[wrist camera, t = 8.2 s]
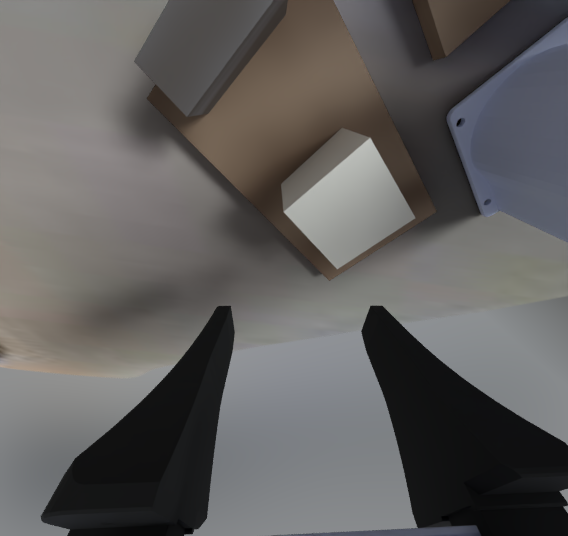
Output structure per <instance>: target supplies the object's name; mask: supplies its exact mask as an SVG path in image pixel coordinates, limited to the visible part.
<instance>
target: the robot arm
mask: <svg viewBox="0 0 568 536" xmlns="http://www.w3.org/2000/svg"><path fill="white" fill-rule="evenodd" d="M460 118H461V122H460V124H459V125H458V126H456V123H457V121H458V120H459V119H460ZM447 123H448V126H449V128H450V131H451V134H452V137H453V139H454V142H455V145H456V147H457V150H458V153H459V156H460V158H461V161H462V164H463V166H464V169H465V172H466V175H467V177H468V180H469V183H470V185H471V188H472V191H473V194H474V196H475V199H476V202H477V205H478V207H479V210H480V213H481V214H482V215H483V216H486V217H488V216H491V215H493V214H495V213H496V212H498V211H502V212H504V213H506V214H508V215H511V216H513V217H515V218H517V219H519V220H521V221H523V222H525V223H527V224H530V225H532V226H534V227H536V228H538V229H540V230H542V231H544V232H547V233H549V234H551V235H553V236H555V237H557V238H559V239H561V240H563V241H566V242H568V17H567V18H566V19H564V20H563V21H562V22H561V23H559V24H558V25H557V26H556V27H554V28H553V29H552V30H551V31H549V32H548V33H547V34H545V35H544V36H543V37H542V38H540V39H539V40H538V41H537V42H535V43H534V44H533V45H532V46H530V47H529V48H528V49H527V50H525V51H524V52H523V53H521V54H520V55H519V56H518V57H516V58H515V59H514V60H513V61H511V62H510V63H509V64H508V65H506V66H505V67H504V68H503V69H501V70H500V71H499V72H497V73H496V74H495V75H494V76H492V77H491V78H490V79H489V80H487V81H486V82H485V83H484V84H482V85H481V86H480V87H479V88H477V89H476V90H475V91H473V92H472V93H471V94H470V95H468V96H467V97H466V98H465V99H463V100H462V101H461V102H460V103H458V104H457V105H456V106H454V107H453V108H452V109H451V110H450V111H449V113H448V115H447ZM486 200H487V201H486ZM485 201H486V202H485ZM484 202H485V203H484ZM361 332H362V336H363V340H364V344H365V348H366V351H367V354H368V356H369V359H370V362H371V364H372V367H373V369H374V372H375V374H376V377H377V379H378V382H379V385H380V387H381V390H382V392H383V395H384V398H385V401H386V404H387V407H388V411H389V414H390V418H391V421H392V424H393V428H394V432H395V436H396V440H397V444H398V447H399V451H400V456H401V460H402V464H403V468H404V473H405V478H406V482H407V487H408V492H409V497H410V501H411V507H412V512H413V515H414V518H415V521H416V524H417V527H418V528H411V529H392V530H372V531H352V532H332V533H312V534H294V535H293V534H292V535H273V536H568V513H567V512H566V510H565V509H564V507H563V506H567V505H568V503H567V501H566V500H565V499H564V497H563V496H562V494H561V493H560V492H559V491H561V490H564V489H568V445H567V444H566V443H565V442H563V441H561V440H560V439H558V438H556V437H554V436H553V435H551V434H549V433H547V432H546V431H544V430H542V429H540V428H539V427H537V426H535V425H534V424H532V423H530V422H528V421H526V420H525V419H523V418H522V417H520V416H518V415H516V414H515V413H514V412H512V411H510V410H509V409H507V408H505V407H504V406H502V405H501V404H499V403H498V402H496V401H495V400H493V399H492V398H490V397H489V396H487V395H486V394H484V393H483V392H481V391H480V390H479V389H477V388H476V387H474V386H473V385H471V384H470V383H469V382H467V381H466V380H464V379H463V378H462V377H460V376H459V375H458V374H457V373H455V372H454V371H453V370H452V369H450V368H449V367H448V366H447V365H445V364H444V363H443V362H442V361H440V360H439V359H438V358H437V357H436V356H435V355H433V354H432V353H431V352H430V351H429V350H428V349H426V348H425V347H424V346H423V345H422V344H421V343H420V342H419V341H417V339H416V338H414V337H413V336H412V335H411V334H410V333H409V332H408V331H407V330H406V329H405V328H404V327H403V326H402V325H401V324H400V323H399V322H398V321H397V320H396V319H395V318H394V317H393V316H392V315H391V314H390V313H389V312H388V311H387V310H386V309H385V308H384V307H383V306H370V309H369V312H368V314H367V317H366V320H365V323H364V325H363V328H362V331H361ZM234 333H235V331H234V325H233V318H232V311H231V306H218V307H217V308H216V310H215V311H214V313H213V315H212V316H211V318H210V320H209V321H208V323H207V324H206V326H205V327H204V329H203V330H202V332H201V333H200V334H199V336H198V337H197V339H196V340H195V341H194V343H193V344H192V345H191V347H190V348H189V349H188V351H187V352H186V353H185V354H184V356H183V357H182V358H181V359H180V361H179V362H178V363H177V364H176V365H175V367H174V368H173V369H172V370H171V371H170V372H169V373H168V375H167V376H166V377H165V378H164V379H163V380H162V381H161V382H160V383H159V384H158V385H157V386H156V387H155V388H154V389H153V390H152V391H151V392H150V393H149V394H148V395H147V396H146V397H145V398H144V399H143V400H142V401H141V402H140V403H139V404H138V405H137V406H136V407H135V408H134V409H133V410H131V411H130V412H129V413H128V414H127V415H126V416H125V417H124V418H123V419H122V420H120V421H119V422H118V423H117V424H116V425H115V426H114V427H113V428H111V429H110V430H109V431H108V432H107V433H105V434H104V435H103V436H102V437H101V438H99V439H98V440H97V441H96V442H95V443H93V444H92V445H91V446H90V447H89V448H87V449H86V450H85V451H84V452H82V453H81V454H80V455H79V456H78V457H77V458H75V460H74V461H73V463H72V464H71V466H70V467H69V469H68V470H67V472H66V473H65V475H64V476H63V478H62V480H61V482H60V483H59V485H58V487H57V489H56V490H55V492H54V494H53V496H52V497H51V499H50V501H49V503H48V505H47V506H46V509H45V510H44V512H43V514H42V516H41V520H42V521H43V522H44V523H47V524H50V525H54V526H59V527H62V528H67V529H70V531H69V533H68V535H67V536H184V534H193V532H194V529H198V528H199V527H200V526H201V525H202V524H203V522H204V521H205V520H206V518H207V511H208V502H209V492H210V483H211V474H212V465H213V457H214V449H215V441H216V433H217V426H218V419H219V411H220V405H221V400H222V395H223V390H224V386H225V382H226V377H227V373H228V369H229V364H230V360H231V355H232V350H233V342H234Z"/></svg>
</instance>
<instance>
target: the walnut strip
mask: <svg viewBox="0 0 568 536" xmlns="http://www.w3.org/2000/svg"><path fill="white" fill-rule="evenodd" d="M134 62H135V63H136V64H137V65H138V66H139V67H140V68H141V69H142V70H143V71H144V72H145V73H146V75H147V76H148V77H149V78H150V79H151V80H152V81H153V82H154V83H155V84H156V85H155V86H154V88H153V89H152V91H151V93H150V94H149V96H148V97H147V99H148V100H149V101H150V102H151V103H152V104H153V105H154V106H155V107H156V108H157V109H158V110H159V111H160V112H161V113H162V114H163V115H164V116H165V117H166V118H167V119H168V120H169V121H170V122H171V123H172V124H173V125H174V126H175V127H176V128H177V129H178V130H179V131H180V132H181V133H182V134H183V135H184V136H185V137H186V138H187V139H188V140H189V141H190V142H191V143H192V144H193V145H194V146H195V147H196V148H197V149H198V150H199V151H200V152H201V153H202V154H203V155H204V156H205V157H206V158H207V159H208V160H209V161H210V162H211V163H212V164H213V165H214V166H215V167H216V168H217V169H218V170H219V171H220V172H221V173H222V174H223V175H224V176H225V177H226V178H227V179H228V180H229V181H230V182H231V183H232V184H233V185H234V186H235V187H236V188H237V189H238V190H239V191H240V192H241V193H242V194H243V195H244V196H245V197H246V198H247V199H248V200H249V201H250V202H251V203H252V204H253V205H254V206H255V207H256V208H257V209H258V210H259V211H260V212H261V213H262V214H263V215H264V216H265V217H266V218H267V219H268V220H269V221H270V222H271V223H272V224H273V225H274V226H275V227H276V228H277V229H278V230H279V231H280V232H281V233H282V234H283V235H284V236H285V237H286V238H287V239H288V240H289V241H290V242H291V243H292V244H293V245H294V246H295V247H296V248H297V249H298V250H299V251H300V252H301V253H302V254H303V255H304V256H305V257H306V258H307V259H308V260H309V261H310V262H311V263H312V264H313V265H314V266H315V267H316V268H317V269H318V270H319V271H320V272H321V273H322V274H323V275H324V276H325V277H326V278H327V279H328V280H329V281H330V280H331V279H333V278H334V277H336V276H338V275H339V274H341V273H342V272H344V271H345V270H347V269H348V268H350V267H352V266H353V265H355V264H356V263H358V262H359V261H361V260H362V259H364V258H366V257H367V256H369V255H370V254H372V253H373V252H375V251H377V250H378V249H380V248H381V247H383V246H384V245H386V244H387V243H389V242H391V241H392V240H394V239H395V238H397V237H398V236H400V235H401V234H403V233H405V232H406V231H408V230H409V229H411V228H412V227H414V226H415V225H417V224H419V223H420V222H422V221H423V220H425V219H426V218H428V217H429V216H431V215H433V214H434V213H436V212H437V210H436V208H435V206H434V204H433V202H432V200H431V198H430V196H429V194H428V192H427V190H426V188H425V186H424V184H423V182H422V180H421V178H420V176H419V174H418V172H417V170H416V168H415V166H414V164H413V162H412V160H411V158H410V156H409V154H408V152H407V149H406V147H405V145H404V143H403V141H402V139H401V137H400V135H399V133H398V131H397V129H396V127H395V125H394V123H393V121H392V119H391V117H390V115H389V113H388V111H387V109H386V107H385V105H384V103H383V101H382V99H381V97H380V95H379V93H378V91H377V88H376V86H375V84H374V82H373V80H372V78H371V76H370V74H369V72H368V70H367V68H366V66H365V64H364V62H363V60H362V58H361V56H360V54H359V52H358V50H357V48H356V46H355V44H354V42H353V40H352V38H351V36H350V34H349V32H348V29H347V27H346V25H345V23H344V21H343V19H342V17H341V15H340V13H339V11H338V9H337V7H336V5H335V3H334V1H333V0H169V1H168V3H167V5H166V6H165V8H164V10H163V12H162V13H161V15H160V17H159V19H158V20H157V22H156V24H155V26H154V27H153V29H152V31H151V33H150V34H149V36H148V38H147V40H146V41H145V43H144V45H143V47H142V48H141V50H140V52H139V54H138V55H137V57H136V59H135V61H134ZM341 128H344V129H347V130H350V131H353V132H356V133H358V134H361V135H364V136H367V137H370V138H371V140H372V142H373V144H374V145H375V147H376V149H377V151H378V152H379V154H380V156H381V158H382V159H383V161H384V163H385V165H386V167H387V168H388V170H389V172H390V174H391V175H392V177H393V179H394V181H395V183H396V184H397V186H398V188H399V190H400V191H401V193H402V195H403V197H404V198H405V200H406V202H407V204H408V206H409V207H410V209H411V211H412V213H413V214H414V216H415V219H413V220H412V221H410V222H409V223H407V224H406V225H404V226H403V227H401V228H400V229H398V230H397V231H395V232H394V233H392V234H390V235H389V236H387V237H386V238H384V239H383V240H381V241H380V242H378V243H377V244H375V245H374V246H372V247H371V248H369V249H368V250H366V251H365V252H363V253H361V254H360V255H358V256H357V257H355V258H354V259H352V260H351V261H349V262H348V263H346V264H345V265H343V266H342V267H340V268H339V269H336V268H335V266H334V265H333V264H332V263H331V262H330V261H329V260H328V259H327V258H326V257H325V256H324V255H323V254H322V253H321V251H320V250H319V249H318V248H317V247H316V246H315V245H314V244H313V243H312V242H311V241H310V240H309V239H308V238H307V236H306V235H305V234H304V233H303V232H302V231H301V230H300V229H299V228H298V227H297V226H296V225H295V224H294V223H293V221H292V220H291V219H290V218H289V217H288V216H287V215H286V214H285V213H284V212H283V200H282V189H281V184H282V183H283V182H284V181H285V180H286V179H287V178H288V177H289V176H290V175H291V174H292V173H294V172H295V171H296V170H297V169H298V168H299V167H300V166H301V165H302V164H303V163H304V162H305V161H307V160H308V159H309V158H310V157H311V156H312V155H313V154H314V153H315V152H316V151H317V150H318V149H320V148H321V147H322V146H323V145H324V144H325V143H326V142H327V141H328V140H329V139H330V138H332V137H333V136H334V135H335V134H336V133H337V132H338V131H339V130H340V129H341Z"/></svg>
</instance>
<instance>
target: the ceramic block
mask: <svg viewBox="0 0 568 536" xmlns="http://www.w3.org/2000/svg"><path fill="white" fill-rule="evenodd" d="M281 189H282V200H283V212H284V213H285V214H286V215H287V216H288V217H289V218H290V219H291V220H292V221H293V223H294V224H295V225H296V226H297V227H298V228H299V229H300V230H301V231H302V232H303V233H304V234H305V235H306V236H307V238H308V239H309V240H310V241H311V242H312V243H313V244H314V245H315V246H316V247H317V248H318V249H319V250H320V251H321V253H322V254H323V255H324V256H325V257H326V258H327V259H328V260H329V261H330V262H331V263H332V264H333V265H334V266H335V268H336V269H339V268H340V267H342V266H343V265H345V264H346V263H348V262H349V261H351V260H352V259H354V258H355V257H357V256H358V255H360V254H361V253H363V252H365V251H366V250H368V249H369V248H371V247H372V246H374V245H375V244H377V243H378V242H380V241H381V240H383V239H384V238H386V237H387V236H389V235H390V234H392V233H394V232H395V231H397V230H398V229H400V228H401V227H403V226H404V225H406V224H407V223H409V222H410V221H412V220H413V219H415V216H414V214H413V213H412V211H411V209H410V207H409V206H408V204H407V202H406V200H405V198H404V197H403V195H402V193H401V191H400V190H399V188H398V186H397V184H396V183H395V181H394V179H393V177H392V175H391V174H390V172H389V170H388V168H387V167H386V165H385V163H384V161H383V159H382V158H381V156H380V154H379V152H378V151H377V149H376V147H375V145H374V144H373V142H372V140H371V138H370V137H367V136H364V135H361V134H358V133H356V132H353V131H350V130H347V129H344V128H341V129H340V130H339V131H338V132H337V133H336V134H335V135H334V136H333V137H332V138H330V139H329V140H328V141H327V142H326V143H325V144H324V145H323V146H322V147H321V148H320V149H318V150H317V151H316V152H315V153H314V154H313V155H312V156H311V157H310V158H309V159H308V160H307V161H305V162H304V163H303V164H302V165H301V166H300V167H299V168H298V169H297V170H296V171H295V172H294V173H292V174H291V175H290V176H289V177H288V178H287V179H286V180H285V181H284V182H283V183H282V184H281Z"/></svg>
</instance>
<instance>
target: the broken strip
mask: <svg viewBox="0 0 568 536" xmlns="http://www.w3.org/2000/svg"><path fill="white" fill-rule="evenodd" d="M412 1H413V4H414V7H415V10H416V13H417V16H418V19H419V21H420V24H421V27H422V30H423V33H424V36H425V38H426V41H427V44H428V47H429V50H430V53H431V56H432V58H433V61H434V60H437V59H441V58H445V57H447V56H448V55H449V54H450V53H451V52H452V51H453V50H455V49H456V48H457V47H458V46H459V45H460V44H461V43H463V42H464V41H465V40H466V39H467V38H468V37H469V36H471V35H472V34H473V33H474V32H475V31H476V30H477V29H478V28H480V27H481V26H482V25H483V24H484V23H485V22H486V21H488V20H489V19H490V18H491V17H492V16H493V15H494V14H495V13H497V12H498V11H499V10H500V9H501V8H502V7H503V6H505V5H506V4H507V3H508V2H509V1H510V0H412Z"/></svg>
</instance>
